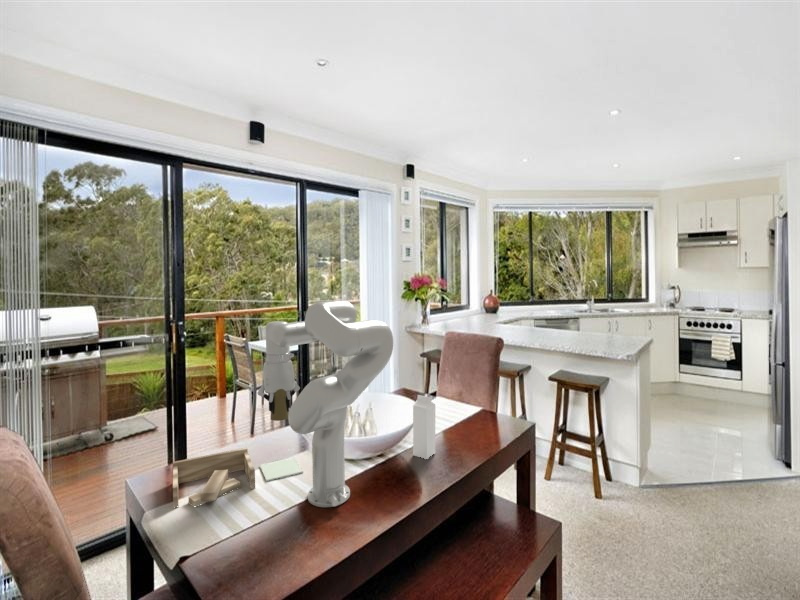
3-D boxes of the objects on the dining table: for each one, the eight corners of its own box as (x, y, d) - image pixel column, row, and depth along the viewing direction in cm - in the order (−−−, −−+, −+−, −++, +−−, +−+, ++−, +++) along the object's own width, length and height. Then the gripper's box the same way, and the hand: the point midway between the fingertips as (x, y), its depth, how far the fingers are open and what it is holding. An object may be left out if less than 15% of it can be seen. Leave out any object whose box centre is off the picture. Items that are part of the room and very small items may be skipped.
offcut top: (228, 477, 132) (227, 469, 132) (215, 500, 118) (215, 492, 118) (215, 478, 131) (214, 470, 131) (200, 502, 118) (200, 493, 117)
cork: (283, 421, 136) (283, 388, 135) (267, 420, 137) (266, 387, 136) (292, 415, 142) (291, 383, 141) (276, 413, 143) (275, 382, 142)
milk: (422, 449, 156) (422, 392, 154) (435, 454, 152) (435, 395, 151) (412, 455, 151) (412, 396, 149) (426, 460, 147) (426, 399, 146)
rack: (255, 488, 128) (254, 466, 128) (173, 508, 118) (172, 484, 117) (247, 466, 143) (246, 447, 142) (174, 483, 132) (173, 461, 131)
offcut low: (240, 489, 129) (240, 482, 129) (194, 509, 118) (194, 501, 118) (233, 485, 131) (233, 478, 131) (188, 504, 121) (188, 496, 120)
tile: (303, 473, 138) (303, 471, 138) (266, 481, 132) (266, 480, 132) (294, 458, 149) (294, 457, 149) (259, 466, 143) (259, 464, 143)
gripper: (300, 353, 145) (301, 404, 146) (250, 358, 137) (251, 412, 138) (305, 357, 138) (307, 410, 140) (253, 363, 130) (255, 419, 132)
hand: (279, 410), depth 139 cm, fingers closed on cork, 4 cm apart
